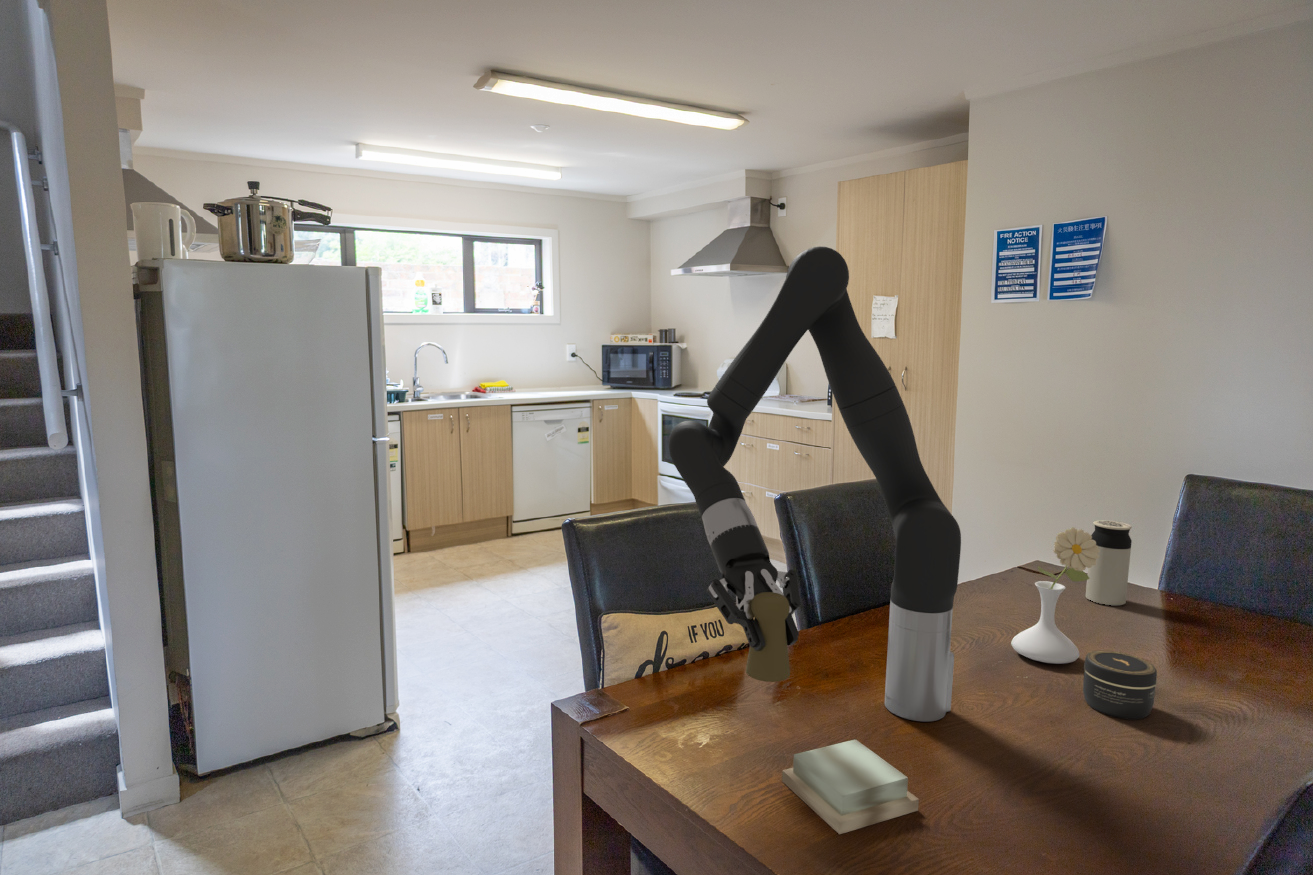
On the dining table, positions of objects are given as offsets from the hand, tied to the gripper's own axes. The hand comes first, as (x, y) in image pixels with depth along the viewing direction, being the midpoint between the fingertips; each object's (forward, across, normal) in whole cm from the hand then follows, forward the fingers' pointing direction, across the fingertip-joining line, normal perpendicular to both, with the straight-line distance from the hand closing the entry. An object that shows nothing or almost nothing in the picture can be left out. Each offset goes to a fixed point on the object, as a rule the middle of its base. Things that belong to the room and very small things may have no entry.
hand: (777, 645), depth 103 cm
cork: (+2, 0, +5) cm, 5 cm away
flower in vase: (+5, +67, +20) cm, 71 cm away
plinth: (+19, +4, +5) cm, 20 cm away
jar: (+17, +60, +8) cm, 63 cm away
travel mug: (-8, +108, +34) cm, 114 cm away
